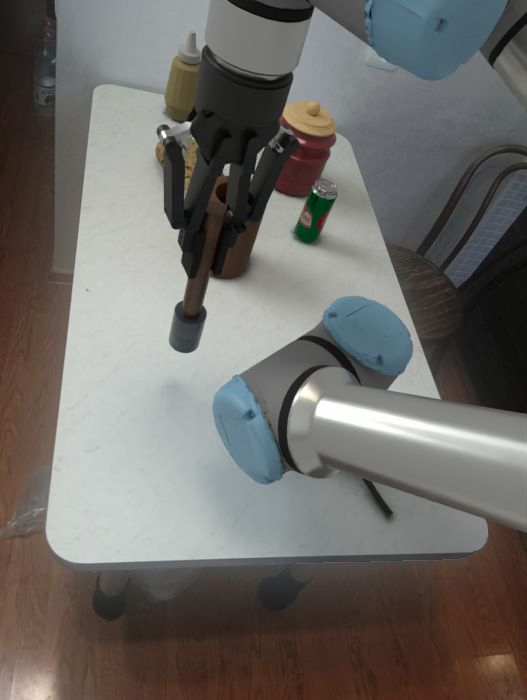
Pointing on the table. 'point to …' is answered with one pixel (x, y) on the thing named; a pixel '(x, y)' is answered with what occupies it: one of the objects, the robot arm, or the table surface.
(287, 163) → the kitchen canister
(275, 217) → the table surface
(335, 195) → the soda can
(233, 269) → the jar
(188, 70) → the squeeze bottle
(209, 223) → the brush
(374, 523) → the table surface
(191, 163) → the sponge
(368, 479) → the robot arm
